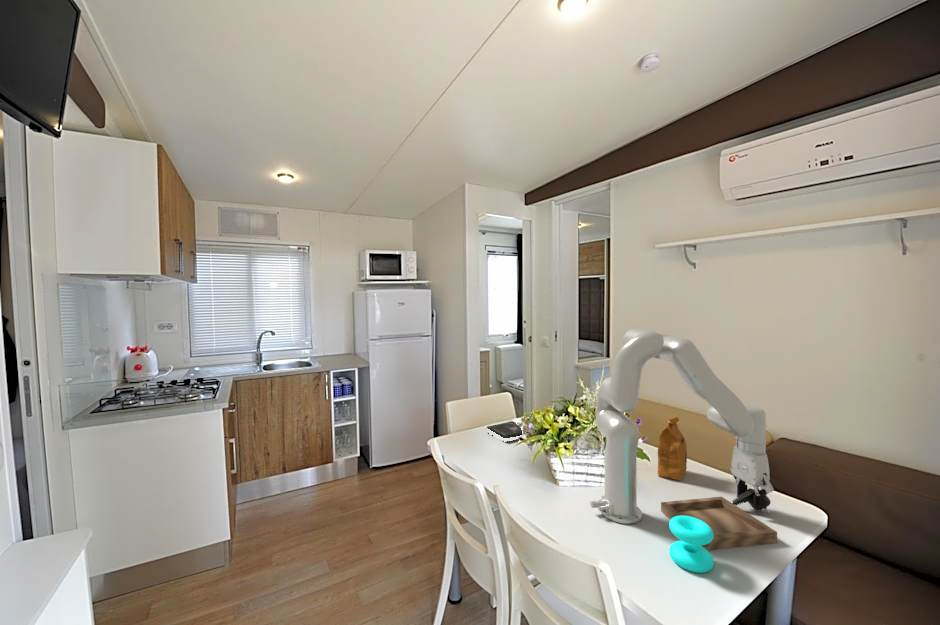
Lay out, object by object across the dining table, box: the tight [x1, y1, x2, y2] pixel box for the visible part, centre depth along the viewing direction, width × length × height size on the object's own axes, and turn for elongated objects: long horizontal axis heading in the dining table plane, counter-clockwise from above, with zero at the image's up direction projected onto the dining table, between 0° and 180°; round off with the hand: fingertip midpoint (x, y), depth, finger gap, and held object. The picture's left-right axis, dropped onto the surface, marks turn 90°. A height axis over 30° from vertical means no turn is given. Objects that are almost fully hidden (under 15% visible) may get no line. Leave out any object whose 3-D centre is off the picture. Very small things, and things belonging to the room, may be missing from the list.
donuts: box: [668, 515, 715, 574], centre depth 98 cm, size 10×10×10 cm
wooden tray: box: [660, 496, 778, 552], centre depth 114 cm, size 22×20×3 cm
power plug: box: [731, 488, 771, 514], centre depth 121 cm, size 6×8×12 cm
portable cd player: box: [486, 421, 522, 438], centre depth 195 cm, size 16×17×4 cm
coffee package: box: [657, 415, 688, 481], centre depth 147 cm, size 10×12×22 cm
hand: (750, 501), depth 121 cm, fingers closed on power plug, 5 cm apart
